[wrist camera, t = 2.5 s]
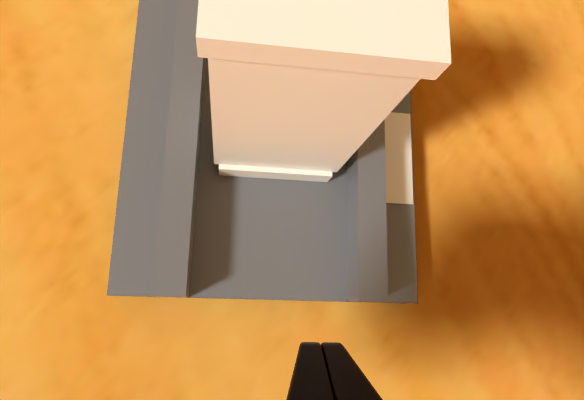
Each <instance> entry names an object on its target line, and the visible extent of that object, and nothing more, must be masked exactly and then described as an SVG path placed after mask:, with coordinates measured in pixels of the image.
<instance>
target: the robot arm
mask: <svg viewBox="0 0 584 400" xmlns="http://www.w3.org/2000/svg"><path fill="white" fill-rule="evenodd" d="M286 400H382V398H381V397H380V396H379V394H378V393H377V391H376V390H375V389H374V387H373V386H372V385H371V383H370V382H369V381H368V379H367V378H366V376H365V375H364V374H363V372H362V371H361V370H360V368H359V367H358V365H357V364H356V363H355V361H354V360H353V359H352V357H351V356H350V354H349V353H348V352H347V350H346V349H345V348H344V346H343V345H342V344H340V343H326V342H324V343H322V344H321V345H320V344H319V343H317V342H302V343H301V344H300V347H299V351H298V355H297V359H296V363H295V367H294V371H293V375H292V379H291V383H290V387H289V391H288V395H287V399H286Z"/></svg>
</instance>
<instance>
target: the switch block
mask: <svg viewBox="0 0 584 400" xmlns="http://www.w3.org/2000/svg"><path fill="white" fill-rule="evenodd" d="M198 1H199V0H139V8H138V17H137V26H136V35H135V44H134V53H133V62H132V71H131V81H130V90H129V99H128V108H127V117H126V126H125V135H124V144H123V153H122V163H121V172H120V181H119V190H118V199H117V208H116V217H115V226H114V236H113V245H112V254H111V263H110V272H109V281H108V290H107V295H110V296H146V297H185V298H224V299H263V300H301V301H340V302H379V303H418V293H417V263H416V234H415V205H414V175H413V146H412V116H411V90H410V91H409V92H408V94H407V95H406V96H405V97H404V98H403V99H402V100H401V101H400V102H399V104H398V105H397V106H396V107H395V108H394V109H393V110H392V111H391V112H390V114H389V115H388V116H387V117H386V118H385V119H384V120H383V121H382V123H381V124H380V125H379V126H378V127H377V128H376V129H375V130H374V131H373V133H372V134H371V135H370V136H369V137H368V138H367V139H366V140H365V141H364V143H363V144H362V145H361V146H360V147H359V148H358V149H357V150H356V152H355V153H354V154H353V155H352V156H351V157H350V158H349V159H348V160H347V162H346V163H345V164H344V165H343V166H342V167H341V168H340V169H339V170H338V172H332V177H331V179H330V180H329V181H328V182H316V181H300V180H284V179H268V178H252V177H236V176H220V175H219V164H214V154H213V137H212V120H211V103H210V86H209V69H208V58H202V57H198V55H197V45H196V27H197V14H198Z"/></svg>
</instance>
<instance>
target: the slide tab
mask: <svg viewBox="0 0 584 400" xmlns="http://www.w3.org/2000/svg"><path fill="white" fill-rule="evenodd" d="M196 45H197V55H198V57H202V58H208V69H209V86H210V103H211V120H212V137H213V154H214V164H219V175H220V176H236V177H252V178H268V179H284V180H300V181H316V182H328V181H329V180H330V179H331V177H332V172H338V170H339V169H340V168H341V167H342V166H343V165H344V164H345V163H346V162H347V160H348V159H349V158H350V157H351V156H352V155H353V154H354V153H355V152H356V150H357V149H358V148H359V147H360V146H361V145H362V144H363V143H364V141H365V140H366V139H367V138H368V137H369V136H370V135H371V134H372V133H373V131H374V130H375V129H376V128H377V127H378V126H379V125H380V124H381V123H382V121H383V120H384V119H385V118H386V117H387V116H388V115H389V114H390V112H391V111H392V110H393V109H394V108H395V107H396V106H397V105H398V104H399V102H400V101H401V100H402V99H403V98H404V97H405V96H406V95H407V94H408V92H409V91H410V90H411V89H412V88H413V87H414V86H415V85H416V83H417V82H418V81H419V80H420V79H429V80H436V79H437V78H438V77H439V76H440V75H441V74H442V73H443V72H444V71H445V70H446V69H447V68H448V66H449V65H450V64H451V48H450V30H449V12H448V0H199V1H198V14H197V27H196Z"/></svg>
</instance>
